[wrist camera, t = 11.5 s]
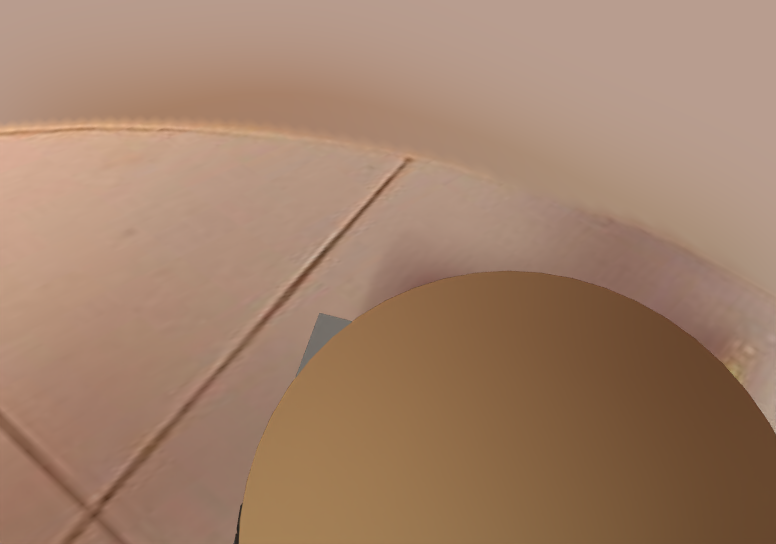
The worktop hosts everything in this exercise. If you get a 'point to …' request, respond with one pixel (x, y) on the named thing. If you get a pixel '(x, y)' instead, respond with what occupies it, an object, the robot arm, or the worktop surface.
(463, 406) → the dowel
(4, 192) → the worktop surface
